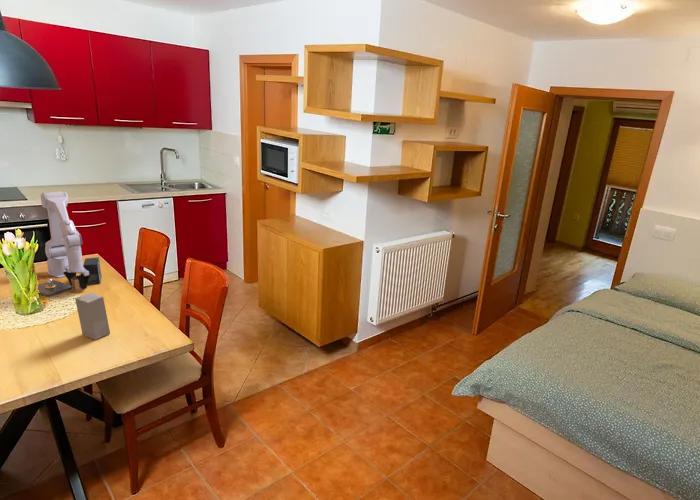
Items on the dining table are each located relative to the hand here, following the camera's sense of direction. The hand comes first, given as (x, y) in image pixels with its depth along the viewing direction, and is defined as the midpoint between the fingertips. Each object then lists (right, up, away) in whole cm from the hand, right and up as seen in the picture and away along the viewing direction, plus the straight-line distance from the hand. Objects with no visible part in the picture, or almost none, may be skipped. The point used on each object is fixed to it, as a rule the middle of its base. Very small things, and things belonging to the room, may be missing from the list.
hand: (78, 287), depth 206 cm
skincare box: (+29, -15, -38) cm, 50 cm away
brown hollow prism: (0, -1, 0) cm, 2 cm away
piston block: (-13, -1, 0) cm, 13 cm away
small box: (0, +2, +12) cm, 12 cm away
